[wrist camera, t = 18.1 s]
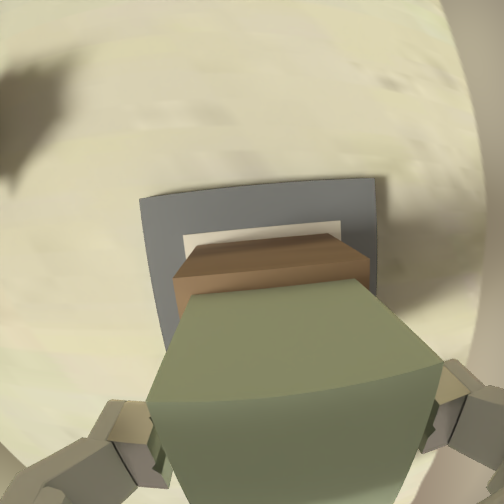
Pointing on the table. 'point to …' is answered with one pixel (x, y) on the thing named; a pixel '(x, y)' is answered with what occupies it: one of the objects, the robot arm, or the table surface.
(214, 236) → the board
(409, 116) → the table surface
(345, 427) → the sage cube
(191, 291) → the walnut block
